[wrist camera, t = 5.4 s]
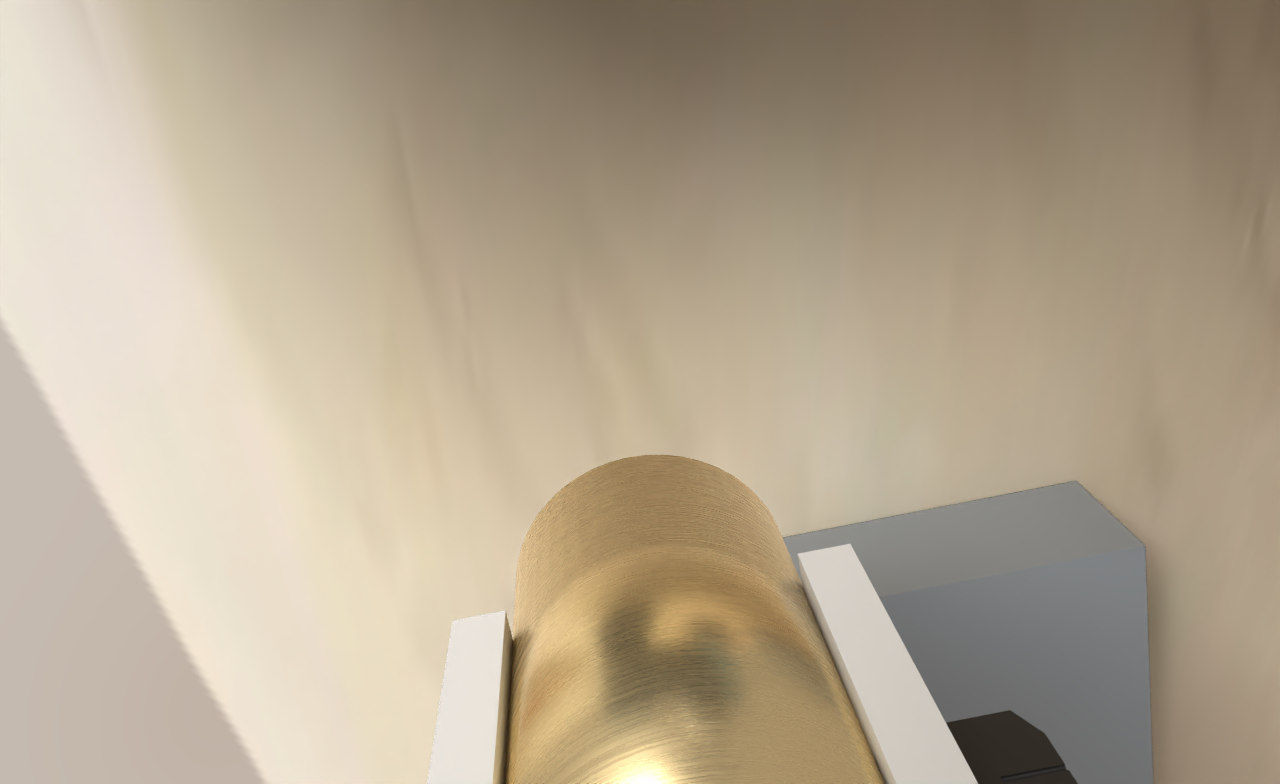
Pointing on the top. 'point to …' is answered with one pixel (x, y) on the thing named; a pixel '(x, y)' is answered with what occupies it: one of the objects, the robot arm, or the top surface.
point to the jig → (1022, 617)
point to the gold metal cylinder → (671, 641)
